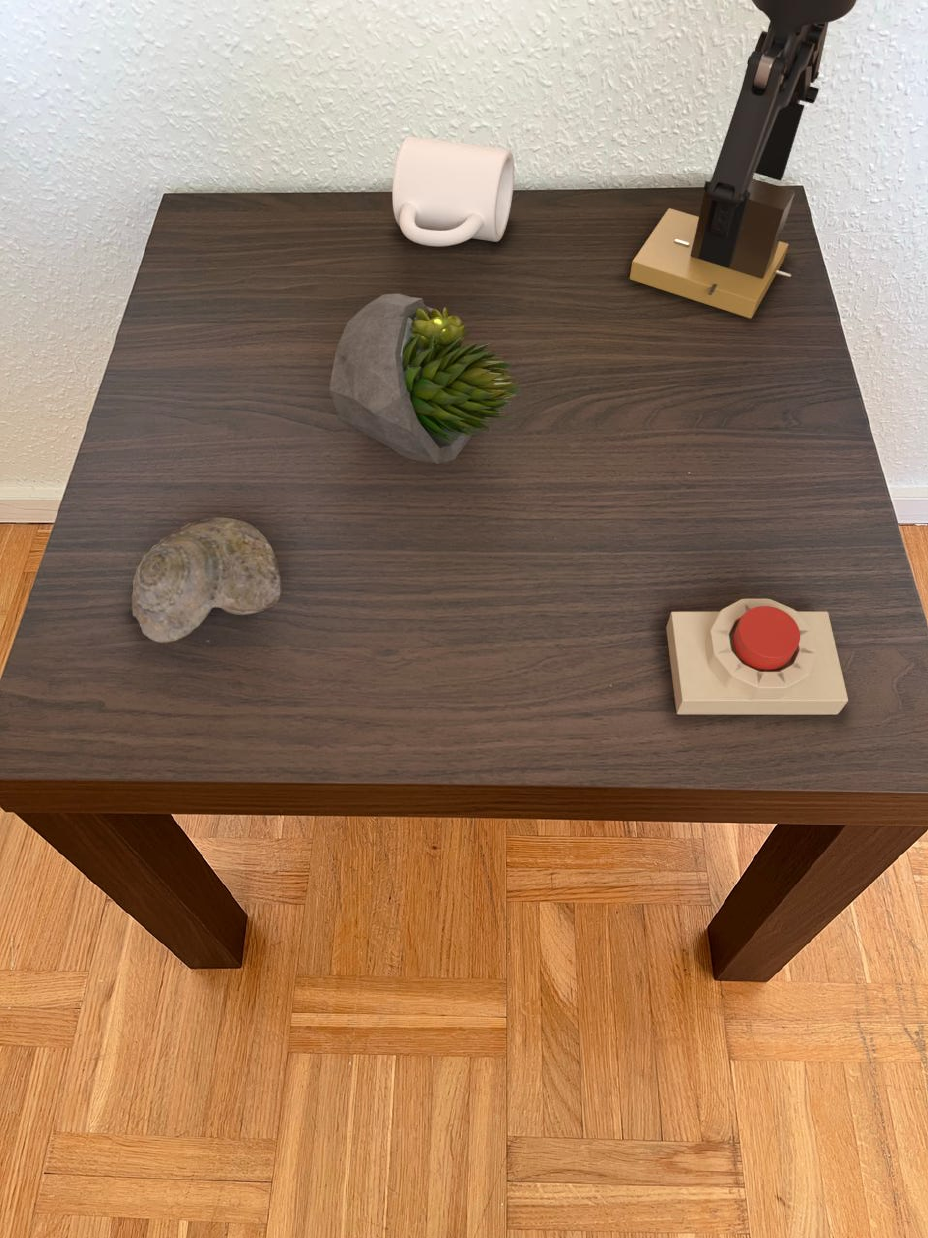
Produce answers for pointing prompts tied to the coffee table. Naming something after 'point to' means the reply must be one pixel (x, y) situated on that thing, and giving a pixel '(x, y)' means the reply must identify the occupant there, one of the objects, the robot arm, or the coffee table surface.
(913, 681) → the coffee table surface
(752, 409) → the coffee table surface
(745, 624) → the bell button
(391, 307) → the potted plant
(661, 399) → the coffee table surface
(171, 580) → the fossilized seashell
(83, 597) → the coffee table surface
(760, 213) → the lock turn
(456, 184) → the mug
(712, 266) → the plate
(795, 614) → the beige button housing
